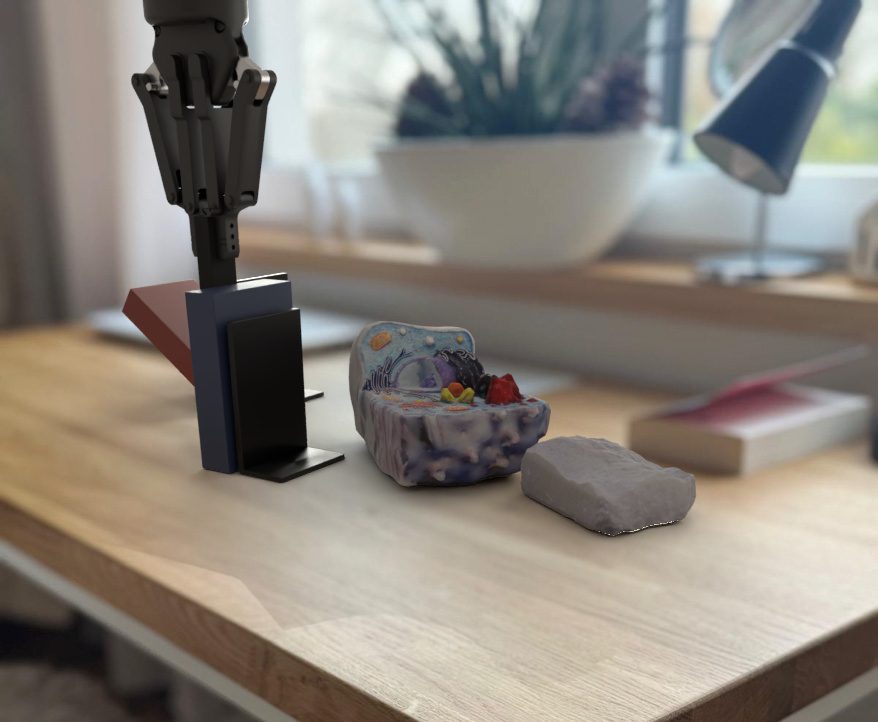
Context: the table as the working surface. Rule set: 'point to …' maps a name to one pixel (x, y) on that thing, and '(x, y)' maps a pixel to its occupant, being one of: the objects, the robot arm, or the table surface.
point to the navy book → (223, 358)
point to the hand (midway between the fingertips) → (219, 300)
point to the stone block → (604, 484)
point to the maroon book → (164, 320)
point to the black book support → (271, 398)
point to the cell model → (438, 407)
